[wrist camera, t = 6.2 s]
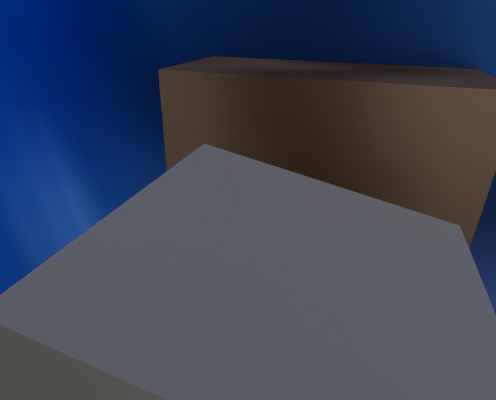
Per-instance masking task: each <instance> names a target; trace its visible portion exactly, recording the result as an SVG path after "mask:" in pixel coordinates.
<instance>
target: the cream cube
mask: <svg viewBox="0 0 496 400" xmlns="http://www.w3.org/2000/svg"><path fill="white" fill-rule="evenodd" d="M0 400H496V314H495V312H494V309H493V307H492V304H491V302H490V299H489V297H488V294H487V292H486V289H485V287H484V284H483V282H482V280H481V277H480V275H479V272H478V270H477V267H476V265H475V262H474V260H473V257H472V255H471V252H470V250H469V247H468V245H467V242H466V240H465V237H464V235H463V232H462V230H461V227H460V225H457V224H453V223H450V222H447V221H444V220H441V219H438V218H435V217H432V216H428V215H425V214H422V213H419V212H416V211H413V210H410V209H407V208H404V207H400V206H397V205H394V204H391V203H388V202H385V201H382V200H379V199H375V198H372V197H369V196H366V195H363V194H360V193H357V192H354V191H351V190H347V189H344V188H341V187H338V186H335V185H332V184H329V183H326V182H322V181H319V180H316V179H313V178H310V177H307V176H304V175H301V174H298V173H294V172H291V171H288V170H285V169H282V168H279V167H276V166H273V165H270V164H266V163H263V162H260V161H257V160H254V159H251V158H248V157H245V156H241V155H238V154H235V153H232V152H229V151H226V150H223V149H220V148H217V147H213V146H210V145H207V144H203V145H202V146H200V147H199V148H198V149H196V150H195V151H194V152H192V153H191V154H189V155H188V156H187V157H185V158H184V159H183V160H181V161H180V162H179V163H177V164H176V165H175V166H173V167H172V168H171V169H169V170H168V171H167V172H165V173H164V174H163V175H161V176H160V177H158V178H157V179H156V180H154V181H153V182H152V183H150V184H149V185H148V186H146V187H145V188H144V189H142V190H141V191H140V192H138V193H137V194H136V195H134V196H133V197H132V198H130V199H129V200H128V201H126V202H125V203H123V204H122V205H121V206H119V207H118V208H117V209H115V210H114V211H113V212H111V213H110V214H109V215H107V216H106V217H105V218H103V219H102V220H101V221H99V222H98V223H97V224H95V225H94V226H92V227H91V228H90V229H88V230H87V231H86V232H84V233H83V234H82V235H80V236H79V237H78V238H76V239H75V240H74V241H72V242H71V243H70V244H68V245H67V246H66V247H64V248H63V249H62V250H60V251H59V252H57V253H56V254H55V255H53V256H52V257H51V258H49V259H48V260H47V261H45V262H44V263H43V264H41V265H40V266H39V267H37V268H36V269H35V270H33V271H32V272H31V273H29V274H28V275H26V276H25V277H24V278H22V279H21V280H20V281H18V282H17V283H16V284H14V285H13V286H12V287H10V288H9V289H8V290H6V291H5V292H4V293H2V294H1V295H0Z"/></svg>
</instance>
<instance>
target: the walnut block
mask: <svg viewBox="0 0 496 400" xmlns="http://www.w3.org/2000/svg"><path fill="white" fill-rule="evenodd" d="M158 74H159V86H160V97H161V109H162V121H163V132H164V144H165V155H166V167H167V171H168V170H169V169H171V168H172V167H173V166H175V165H176V164H177V163H179V162H180V161H181V160H183V159H184V158H185V157H187V156H188V155H189V154H191V153H192V152H194V151H195V150H196V149H198V148H199V147H200V146H202V145H203V144H207V145H210V146H213V147H217V148H220V149H223V150H226V151H229V152H232V153H235V154H238V155H241V156H245V157H248V158H251V159H254V160H257V161H260V162H263V163H266V164H270V165H273V166H276V167H279V168H282V169H285V170H288V171H291V172H294V173H298V174H301V175H304V176H307V177H310V178H313V179H316V180H319V181H322V182H326V183H329V184H332V185H335V186H338V187H341V188H344V189H347V190H351V191H354V192H357V193H360V194H363V195H366V196H369V197H372V198H375V199H379V200H382V201H385V202H388V203H391V204H394V205H397V206H400V207H404V208H407V209H410V210H413V211H416V212H419V213H422V214H425V215H428V216H432V217H435V218H438V219H441V220H444V221H447V222H450V223H453V224H457V225H460V227H461V230H462V232H463V235H464V237H465V240H466V242H467V245H468V247H469V249H470V246H471V243H472V240H473V237H474V234H475V231H476V228H477V225H478V222H479V219H480V216H481V213H482V210H483V207H484V204H485V201H486V198H487V195H488V192H489V189H490V186H491V183H492V180H493V177H494V174H495V171H496V78H494V77H492V76H490V75H488V74H486V73H484V72H482V71H480V70H478V69H467V68H446V67H425V66H404V65H384V64H363V63H342V62H321V61H301V60H280V59H259V58H238V57H218V56H212V57H208V58H204V59H200V60H195V61H191V62H187V63H183V64H179V65H175V66H170V67H166V68H162V69H158Z"/></svg>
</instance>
